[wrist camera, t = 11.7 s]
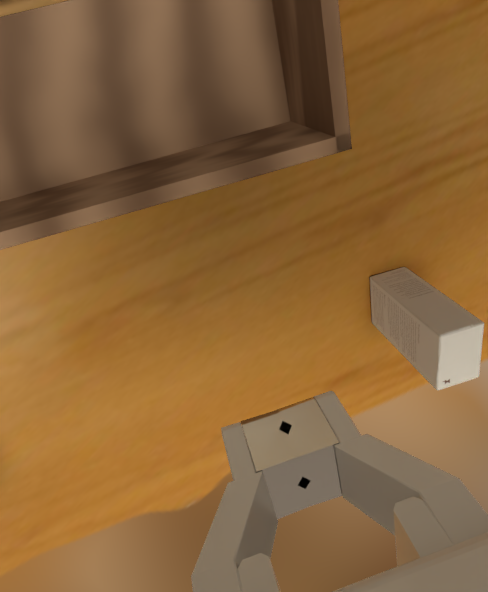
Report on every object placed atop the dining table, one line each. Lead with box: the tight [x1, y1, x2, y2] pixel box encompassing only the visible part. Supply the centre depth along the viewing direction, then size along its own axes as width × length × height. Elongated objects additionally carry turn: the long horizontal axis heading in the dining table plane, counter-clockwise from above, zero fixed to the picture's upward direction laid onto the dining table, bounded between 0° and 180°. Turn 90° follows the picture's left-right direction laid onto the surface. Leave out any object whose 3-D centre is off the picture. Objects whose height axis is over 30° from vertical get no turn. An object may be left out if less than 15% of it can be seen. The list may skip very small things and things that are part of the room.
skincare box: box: [370, 267, 484, 390], centre depth 42 cm, size 6×4×12 cm
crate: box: [0, 0, 352, 250], centre depth 28 cm, size 26×12×10 cm, turn 103°
